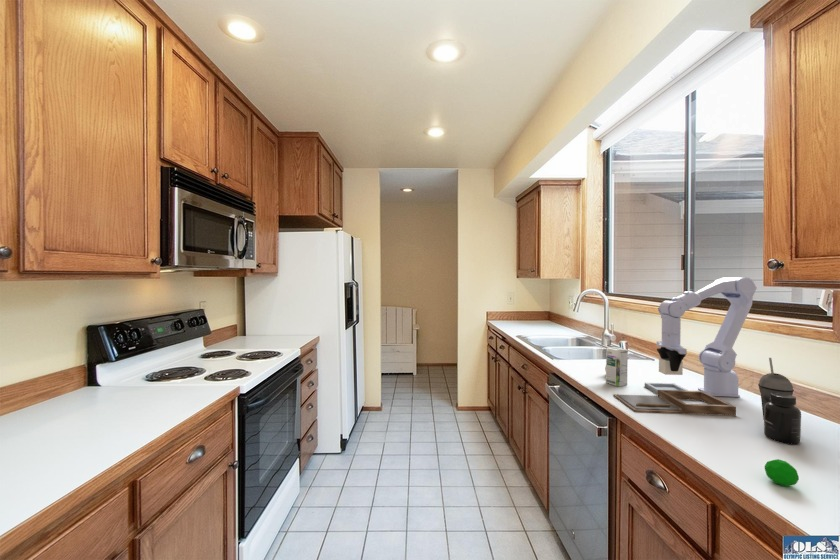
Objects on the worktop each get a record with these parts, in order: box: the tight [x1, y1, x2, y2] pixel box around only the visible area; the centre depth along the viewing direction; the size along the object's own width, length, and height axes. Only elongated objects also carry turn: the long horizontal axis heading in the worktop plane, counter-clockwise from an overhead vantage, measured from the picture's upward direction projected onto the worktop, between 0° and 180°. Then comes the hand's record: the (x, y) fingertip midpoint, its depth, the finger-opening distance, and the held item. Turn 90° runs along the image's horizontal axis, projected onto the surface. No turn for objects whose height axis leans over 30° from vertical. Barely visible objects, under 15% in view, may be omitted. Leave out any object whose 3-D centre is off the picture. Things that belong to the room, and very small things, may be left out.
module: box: [658, 357, 684, 376], centre depth 131 cm, size 6×4×5 cm, turn 85°
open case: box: [613, 390, 737, 417], centre depth 119 cm, size 30×15×3 cm, turn 85°
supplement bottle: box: [763, 392, 802, 446], centre depth 94 cm, size 7×7×12 cm
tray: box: [644, 382, 690, 395], centre depth 132 cm, size 11×11×2 cm
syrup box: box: [605, 346, 629, 387], centre depth 142 cm, size 6×6×14 cm
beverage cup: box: [758, 357, 794, 421], centre depth 101 cm, size 7×7×20 cm
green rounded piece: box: [764, 458, 799, 487], centre depth 74 cm, size 5×5×5 cm
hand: (670, 369), depth 131 cm, fingers closed on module, 4 cm apart
